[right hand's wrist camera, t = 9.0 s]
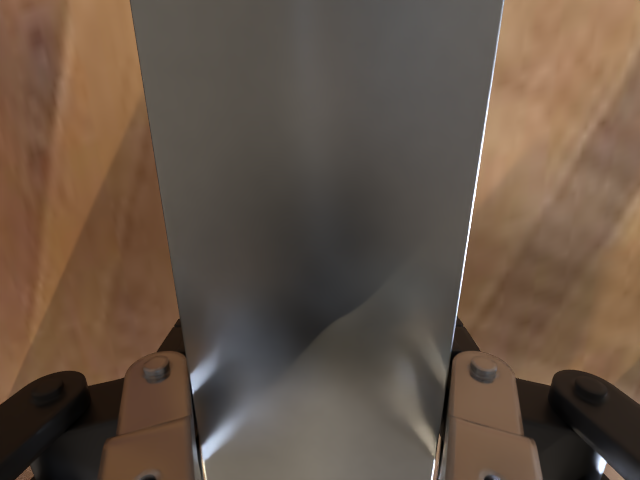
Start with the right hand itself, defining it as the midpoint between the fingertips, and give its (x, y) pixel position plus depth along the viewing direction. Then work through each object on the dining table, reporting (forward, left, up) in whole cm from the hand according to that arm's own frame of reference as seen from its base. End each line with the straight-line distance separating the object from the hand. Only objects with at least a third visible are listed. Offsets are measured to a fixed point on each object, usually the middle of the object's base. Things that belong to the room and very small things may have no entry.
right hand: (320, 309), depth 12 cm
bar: (+9, 0, -4) cm, 10 cm away
